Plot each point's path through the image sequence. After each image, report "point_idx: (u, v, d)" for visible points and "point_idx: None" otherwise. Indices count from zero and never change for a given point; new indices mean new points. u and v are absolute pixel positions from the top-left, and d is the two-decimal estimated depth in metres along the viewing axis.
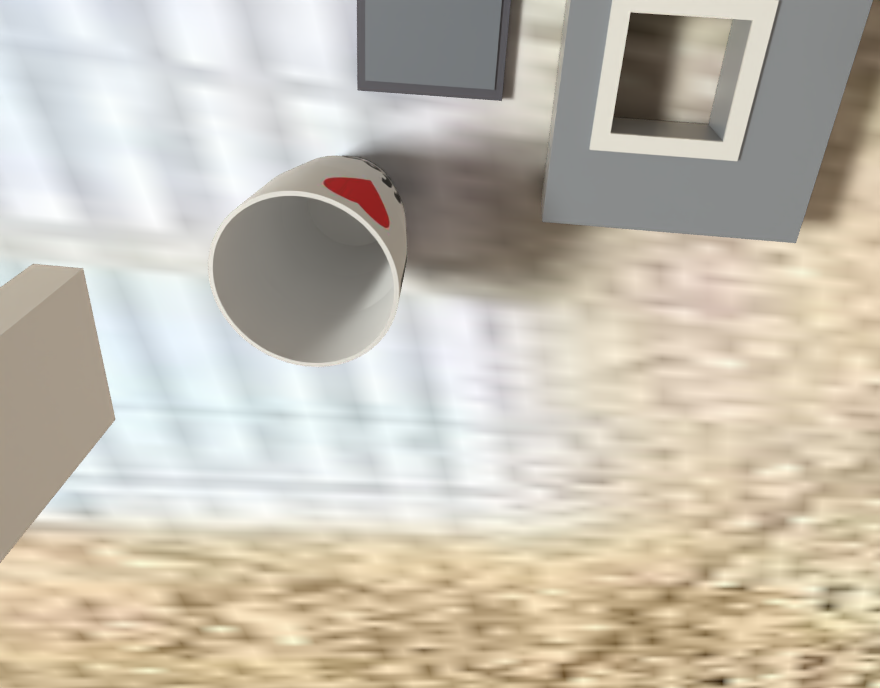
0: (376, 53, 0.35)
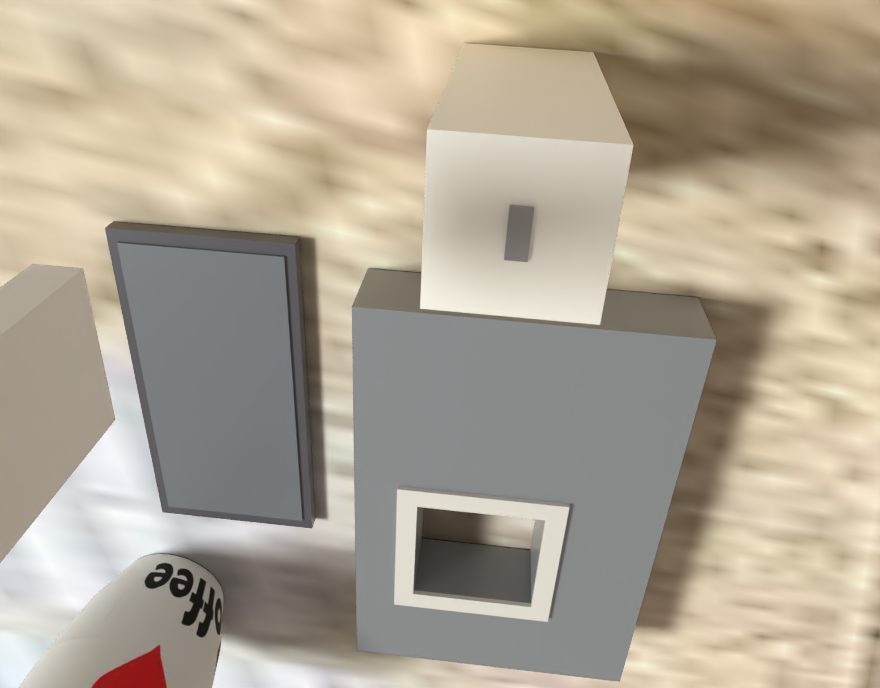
0: (176, 485, 0.33)
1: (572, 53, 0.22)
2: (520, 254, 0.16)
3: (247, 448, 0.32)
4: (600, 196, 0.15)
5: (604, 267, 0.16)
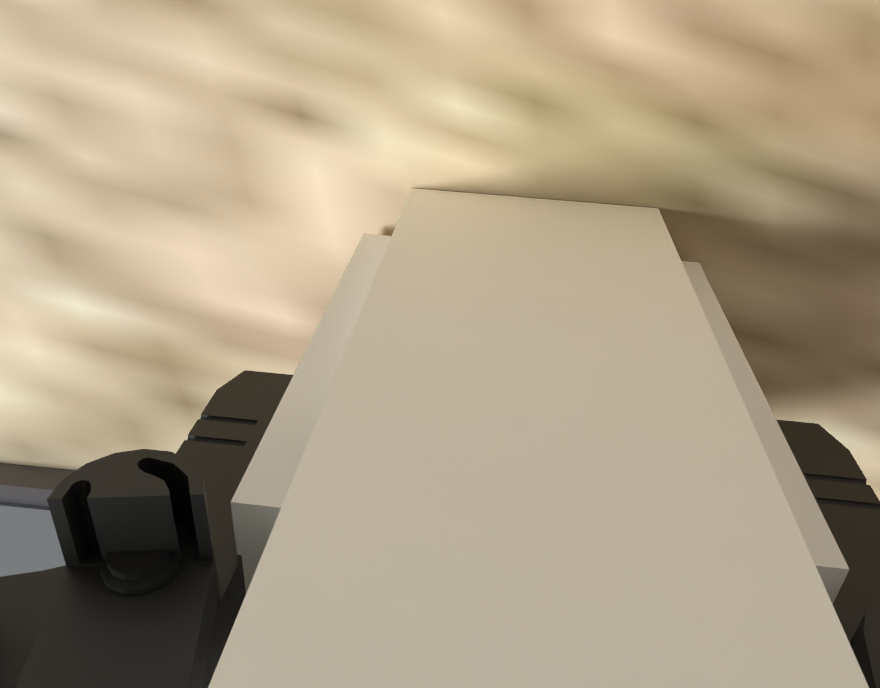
0: None
1: (620, 216, 0.12)
2: None
3: None
4: None
5: None
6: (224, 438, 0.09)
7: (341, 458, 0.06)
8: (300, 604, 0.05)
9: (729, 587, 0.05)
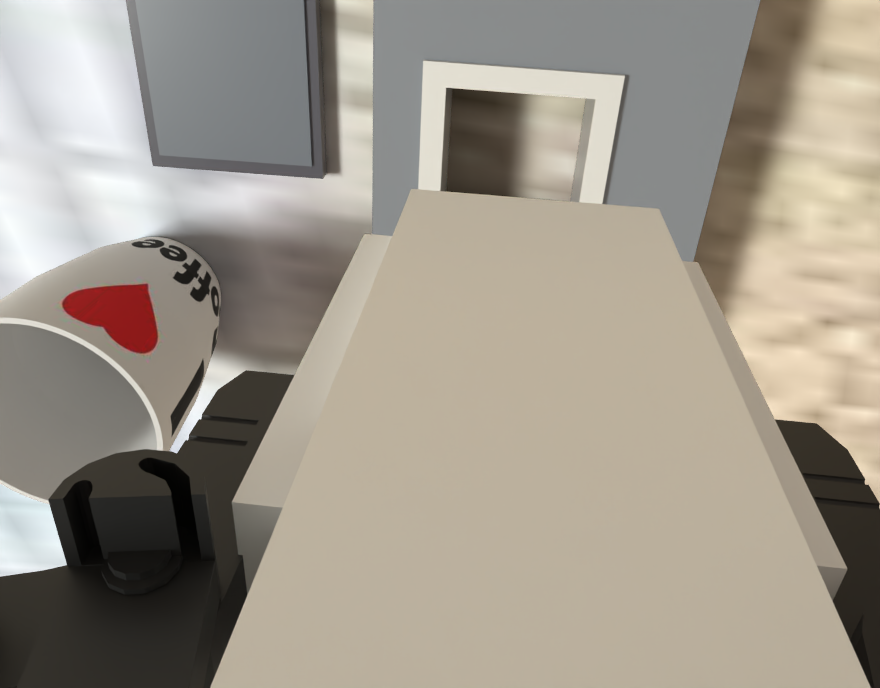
0: (168, 124, 0.29)
1: (620, 216, 0.11)
2: None
3: (248, 61, 0.28)
4: None
5: None
6: (225, 438, 0.09)
7: (342, 460, 0.06)
8: (301, 607, 0.05)
9: (731, 590, 0.05)
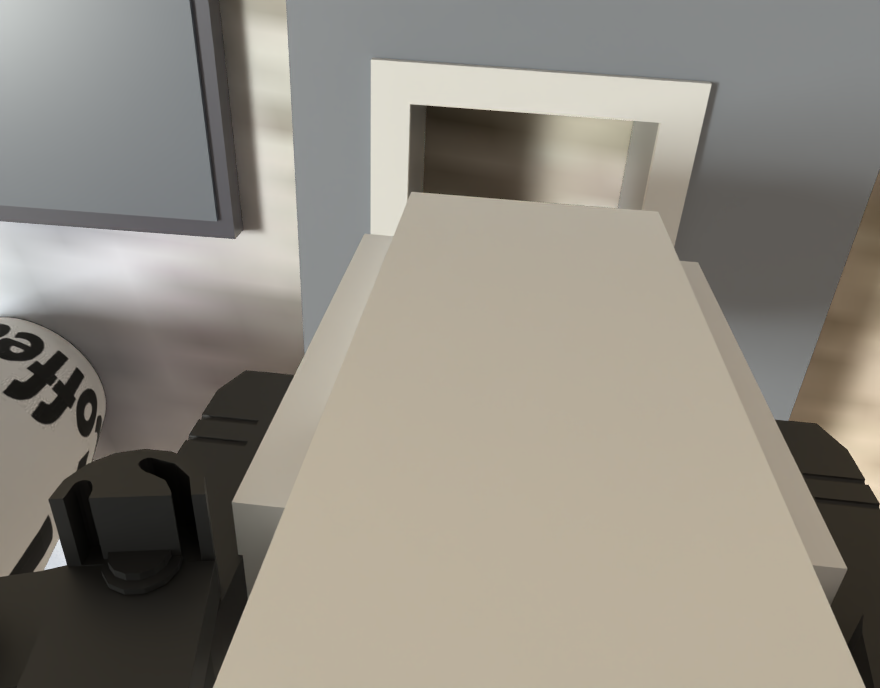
0: None
1: (620, 219, 0.12)
2: None
3: (109, 63, 0.18)
4: None
5: None
6: (225, 438, 0.09)
7: (341, 465, 0.06)
8: (301, 613, 0.05)
9: (729, 595, 0.05)
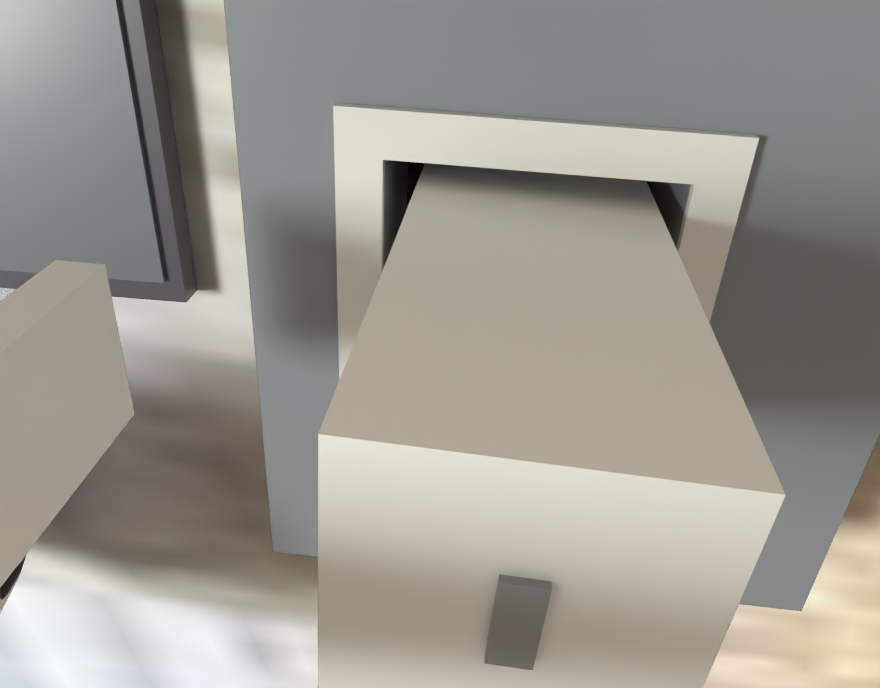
0: None
1: None
2: (518, 651, 0.08)
3: (29, 101, 0.15)
4: (698, 575, 0.07)
5: (690, 685, 0.08)
6: None
7: (405, 282, 0.09)
8: (390, 345, 0.08)
9: (662, 352, 0.08)
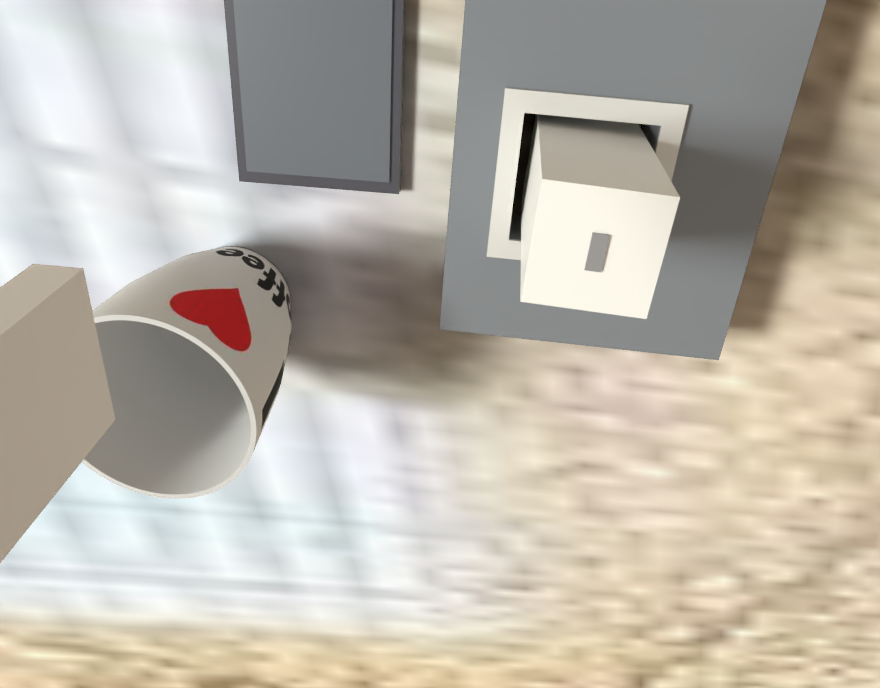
0: (257, 142, 0.31)
1: None
2: (596, 266, 0.23)
3: (336, 85, 0.30)
4: (655, 229, 0.22)
5: (653, 278, 0.23)
6: None
7: (550, 151, 0.24)
8: (553, 165, 0.23)
9: (645, 172, 0.23)
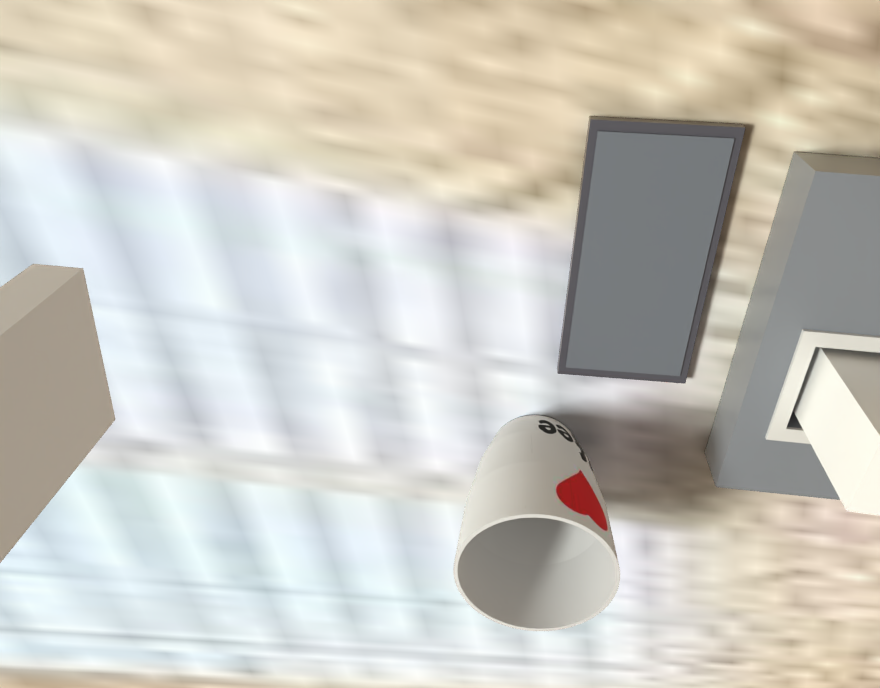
0: (577, 348, 0.40)
1: None
2: None
3: (650, 311, 0.39)
4: None
5: None
6: None
7: (861, 397, 0.33)
8: (875, 417, 0.32)
9: None
